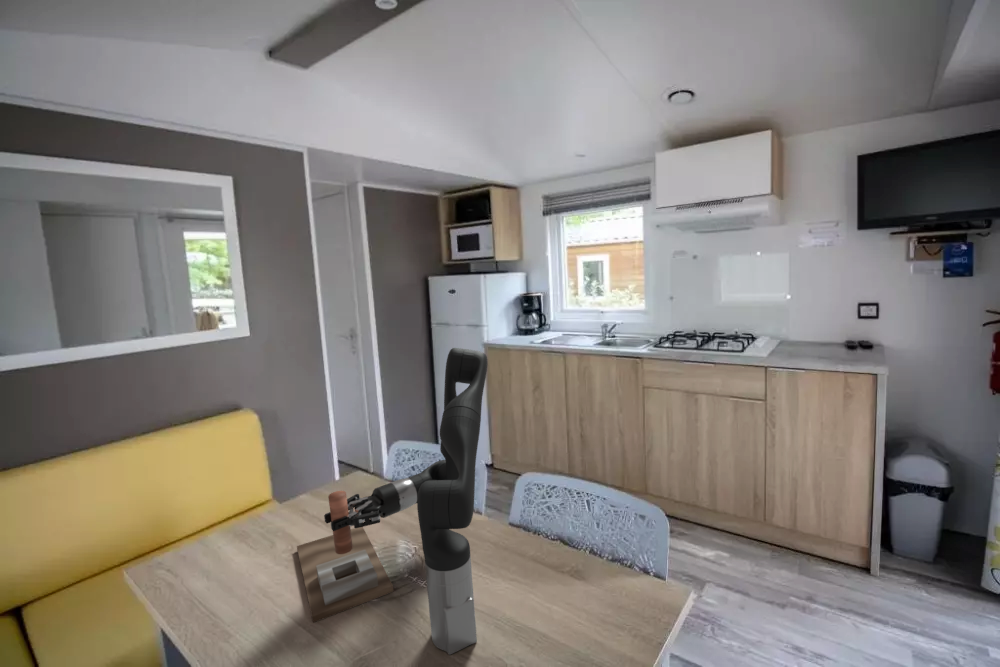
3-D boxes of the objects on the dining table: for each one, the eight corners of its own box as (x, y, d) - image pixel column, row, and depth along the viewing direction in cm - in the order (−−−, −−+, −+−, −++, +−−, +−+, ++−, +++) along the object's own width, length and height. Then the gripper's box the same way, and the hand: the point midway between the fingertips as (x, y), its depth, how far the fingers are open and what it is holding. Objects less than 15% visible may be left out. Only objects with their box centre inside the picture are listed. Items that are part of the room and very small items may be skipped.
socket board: (393, 591, 112) (391, 574, 111) (313, 622, 103) (310, 603, 102) (362, 530, 139) (361, 516, 139) (297, 551, 131) (295, 536, 130)
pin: (354, 550, 112) (347, 495, 110) (336, 556, 111) (329, 500, 109) (350, 542, 116) (344, 489, 114) (334, 547, 114) (327, 493, 112)
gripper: (381, 474, 126) (316, 497, 115) (406, 492, 115) (337, 519, 104) (384, 501, 127) (320, 526, 116) (409, 521, 116) (341, 550, 105)
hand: (328, 522), depth 110 cm, fingers closed on pin, 4 cm apart
